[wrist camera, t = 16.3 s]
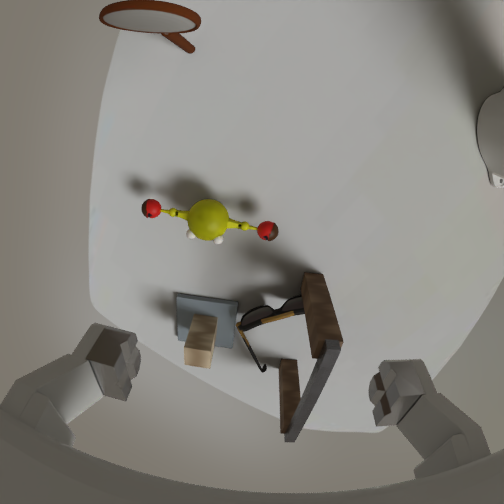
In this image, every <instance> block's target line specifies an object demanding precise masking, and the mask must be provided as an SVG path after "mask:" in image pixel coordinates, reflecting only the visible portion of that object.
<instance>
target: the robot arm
mask: <svg viewBox="0 0 504 504" xmlns="http://www.w3.org/2000/svg"><path fill="white" fill-rule="evenodd" d="M477 137H478V144H479V149H480V152H481V155H482V157H483V160H484V162H485V164H486V165H487V168H488V171H489V178H490V182H491V185H492V186H494V187H498V188H504V88H503V89H502V91H501V92H499V93H496V94H493V95H491V96H489V97H488V98H487V99H486V100H485V102H484V103H483V105H482V107H481V110H480V113H479V117H478V123H477ZM137 341H138V340H137V336H136V334H135V333H133V332H129V331H125V330H121V329H117V328H114V327H110V326H106V325H102V324H98V323H94V324H92V325H91V326H90V328H89V329H88V330H87V332H86V334H85V335H84V336H83V338H82V340H81V341H80V342H79V344H78V346H77V347H76V349H75V350H74V352H73V353H72V355H70V354H67V355H65V356H63V357H61V358H59V359H57V360H55V361H53V362H51V363H49V364H47V365H45V366H43V367H41V368H39V369H37V370H35V371H33V372H31V373H29V374H27V375H25V376H23V377H21V378H19V379H17V380H16V381H15V382H14V384H13V385H12V387H11V389H10V390H9V392H8V393H7V395H6V397H5V398H4V400H3V401H2V403H1V404H0V504H504V449H502V450H500V451H498V452H496V453H493V454H491V453H490V450H489V447H488V444H487V442H486V439H485V436H484V434H483V431H482V429H481V427H480V426H479V425H478V424H477V423H476V422H474V421H473V420H472V419H471V418H470V417H468V416H467V415H466V414H465V413H464V412H463V411H461V410H460V409H459V408H458V407H457V406H455V405H454V404H453V403H452V402H450V401H449V400H448V399H447V398H446V397H445V396H443V395H442V394H441V393H437V391H436V389H435V387H434V384H433V382H432V380H431V377H430V375H429V373H428V370H427V368H426V366H425V364H424V362H423V361H422V360H421V359H413V360H384V361H383V362H381V364H380V366H379V367H378V368H379V371H380V372H379V373H377V374H376V375H374V376H373V378H372V380H371V381H370V385H369V398H370V401H371V402H372V403H373V404H374V405H375V407H374V409H373V415H374V420H375V424H376V426H389V425H397V427H398V429H399V430H400V431H401V432H402V433H403V435H404V436H405V437H406V438H407V439H408V440H409V442H410V443H411V444H412V445H413V446H414V448H415V449H416V450H417V451H418V452H419V454H420V455H421V456H422V457H423V458H424V461H422V462H421V463H420V464H419V465H417V466H416V467H415V469H414V474H415V478H416V479H414V480H410V481H405V482H400V483H395V484H390V485H384V486H379V487H372V488H365V489H357V490H348V491H338V492H324V493H263V492H248V491H237V490H228V489H219V488H213V487H206V486H199V485H195V484H189V483H184V482H179V481H174V480H170V479H165V478H161V477H157V476H153V475H150V474H145V473H142V472H139V471H135V470H132V469H129V468H126V467H122V466H119V465H116V464H114V463H111V462H108V461H105V460H102V459H100V458H97V457H94V456H92V455H89V454H87V453H84V452H82V451H79V450H77V449H75V448H72V446H73V443H74V441H75V435H74V433H73V432H72V431H71V430H70V428H69V427H68V425H67V424H68V423H69V422H70V421H72V420H73V419H74V418H76V417H77V416H78V415H80V414H81V413H82V412H84V411H85V410H86V409H88V408H89V407H90V406H92V405H93V404H94V403H96V402H97V401H98V400H100V399H101V398H102V397H103V395H105V396H108V397H112V398H115V399H119V400H123V401H126V400H127V398H128V395H129V393H130V390H131V388H132V384H131V379H133V378H135V377H136V376H137V374H138V371H139V368H140V362H141V355H140V350H138V348H137V347H136V343H137Z"/></svg>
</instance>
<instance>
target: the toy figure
mask: <svg viewBox="0 0 504 504" xmlns="http://www.w3.org/2000/svg"><path fill="white" fill-rule="evenodd" d="M161 212H164V213H168V214H169V215H170V216H172V217H174V216H176V217H180V218H183V219H185V220H188V226H189V230H188V231H187V233H186V235H187V237H188V238H189V239H194V238H195V237H197V238H199V239H202V240H213V241H214V243H215V244H221V243H222V242H223V237H222V235H223V234H224V232H225V231H226V229H227V228H238V229H242V230H244V231H245V230H248V229H252V230H257V233H258V235H259V237H260V238H261V239H263V240H268V241H272V240H274V239H275V238H276V237H277V235H278V227H277V225H276V224H275V223H274V222H270V221H265V222H262V223H261V224H260V225H259V226H258V228H257V227H254V226H250V225H249V224H248V223H247V222H238V221H235V220H233V219H230V218H229V215H228V212H227V210H226V208H225V207H224V206H223V205H222V204H221V203H220V202H218V201H216V200H213V199H204V200H201V201H198V202H197V203H196V204H194V205H193V206H192V208H191V209H190V211H181V210H176V209H175V208H171V209H170V210H164V209H161V205H160V203H159V202H158V201H156V200H154V199H147V200H146V201H145V202H144V203H143V204H142V213H143V214H144V216H146V217H147V218H148V217H150V218H155V217H157V216H158V215H159V214H160V213H161Z"/></svg>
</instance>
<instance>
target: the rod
mask: <svg viewBox="0 0 504 504" xmlns="http://www.w3.org/2000/svg"><path fill="white" fill-rule="evenodd" d="M340 351H341V348H340V344H339V340H330V339H325V341H324V344H323V346H322V349H321V352H320V354H319V357H318V359H317V362H316V364H315V367H314V369H313V372H312V374H311V376H310V379H309V381H308V383H307V386H306V388H305V390H304V393H303V395H302V397H301V400H300V402H299V404H298V406H297V409H296V411H295V413H294V415H293V417H292V419H291V422H290V424H289V426H288V428H287V430H286V432H285V434H284V435H285V442H295V440H296V438H297V437H298V435H299V433H300V431H301V430H302V428H303V426H304V424H305V422H306V420H307V419H308V417H309V415H310V413H311V411H312V409H313V407H314V405H315V403H316V402H317V400H318V398H319V396H320V394H321V392H322V390H323V388H324V386H325V383H326V381H327V379H328V377H329V375H330V373H331V371H332V369H333V367H334V364H335V362H336V360H337V358H338V356H339V353H340Z"/></svg>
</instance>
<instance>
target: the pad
mask: <svg viewBox="0 0 504 504" xmlns="http://www.w3.org/2000/svg"><path fill="white" fill-rule="evenodd" d="M176 298H177V327H178V340H179V341H185V342H186V339H187V336H188V332H189V329H190V326H191V323H192V319H193V316H194V314H198V315H205V316H212V317H218V322H217V335H216V340H215V345H214V346H217V347H225V348H232V347H233V339H234V331H235V322H236V314H237V306H238V302H236V301H228V300H221V299H213V298H206V297H199V296H192V295H186V294H179V293H178V294H177V297H176Z"/></svg>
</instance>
